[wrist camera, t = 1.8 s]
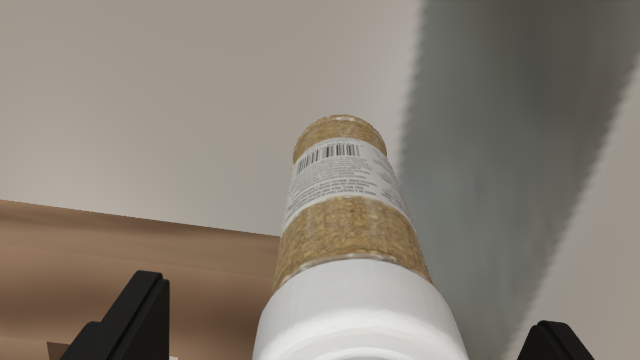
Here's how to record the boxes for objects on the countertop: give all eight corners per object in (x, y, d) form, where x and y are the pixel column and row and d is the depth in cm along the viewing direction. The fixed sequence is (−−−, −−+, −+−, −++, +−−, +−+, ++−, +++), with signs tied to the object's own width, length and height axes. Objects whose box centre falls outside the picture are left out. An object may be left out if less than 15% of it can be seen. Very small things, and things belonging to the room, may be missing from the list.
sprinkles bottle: (296, 199, 21) (256, 483, 9) (290, 112, 19) (228, 324, 7) (386, 196, 21) (468, 482, 9) (389, 109, 19) (498, 318, 7)
